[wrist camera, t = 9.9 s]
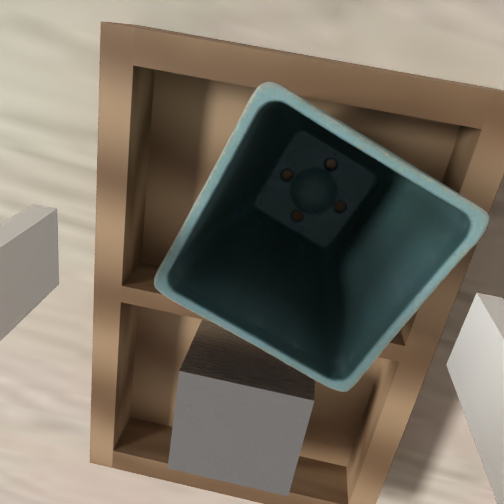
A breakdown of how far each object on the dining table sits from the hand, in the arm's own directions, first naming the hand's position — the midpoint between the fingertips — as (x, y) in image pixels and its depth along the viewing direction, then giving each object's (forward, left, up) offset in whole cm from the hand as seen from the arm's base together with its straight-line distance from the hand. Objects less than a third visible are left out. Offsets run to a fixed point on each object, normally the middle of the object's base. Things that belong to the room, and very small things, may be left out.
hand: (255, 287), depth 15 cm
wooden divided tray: (+6, 0, -12) cm, 14 cm away
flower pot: (0, +2, -11) cm, 11 cm away
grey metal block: (+12, 0, -11) cm, 17 cm away
